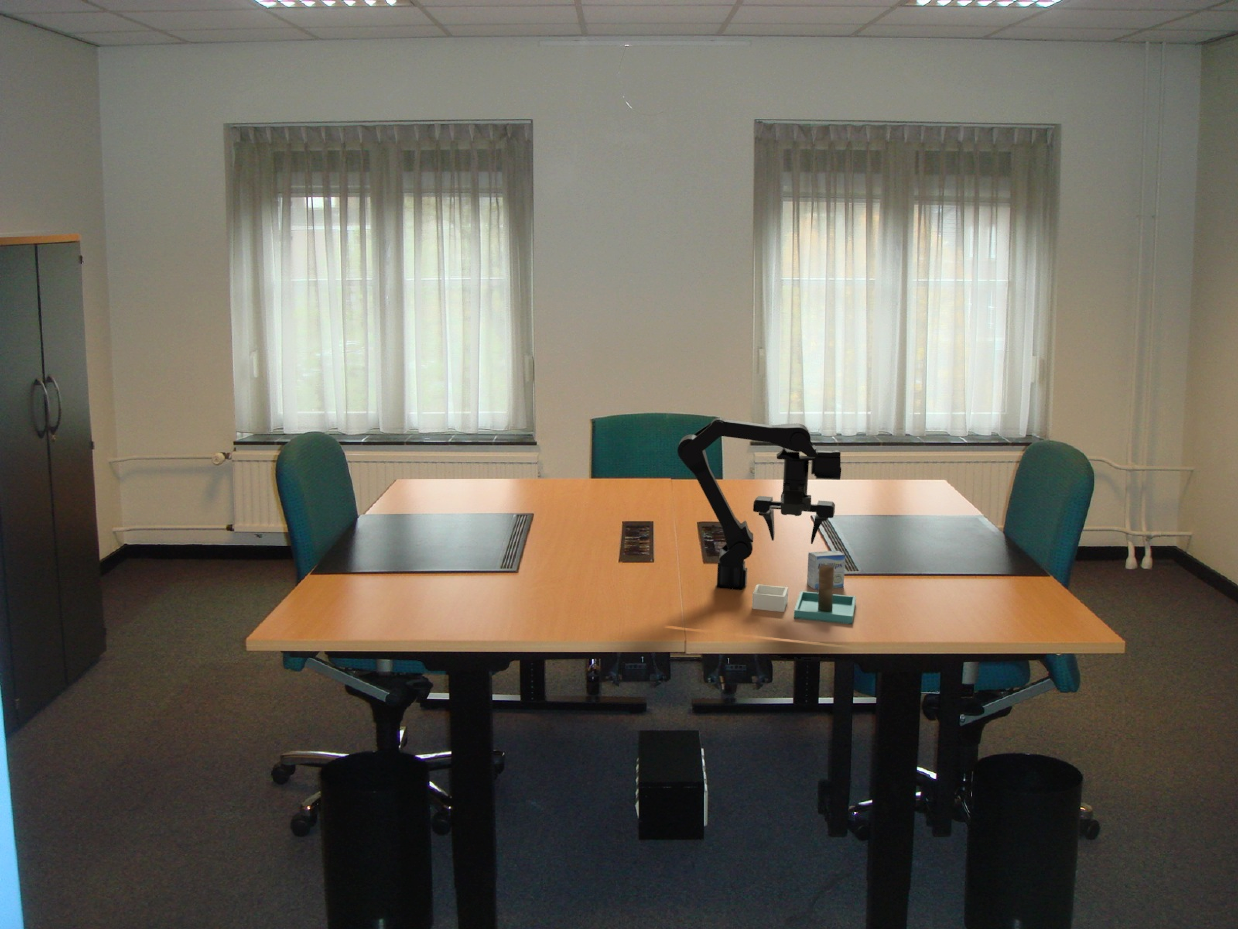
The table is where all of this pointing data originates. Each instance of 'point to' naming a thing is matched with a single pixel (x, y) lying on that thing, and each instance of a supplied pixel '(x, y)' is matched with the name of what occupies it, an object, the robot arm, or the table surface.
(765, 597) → the white square box
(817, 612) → the tray
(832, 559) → the medicine box
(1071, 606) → the table surface
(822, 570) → the dowel
